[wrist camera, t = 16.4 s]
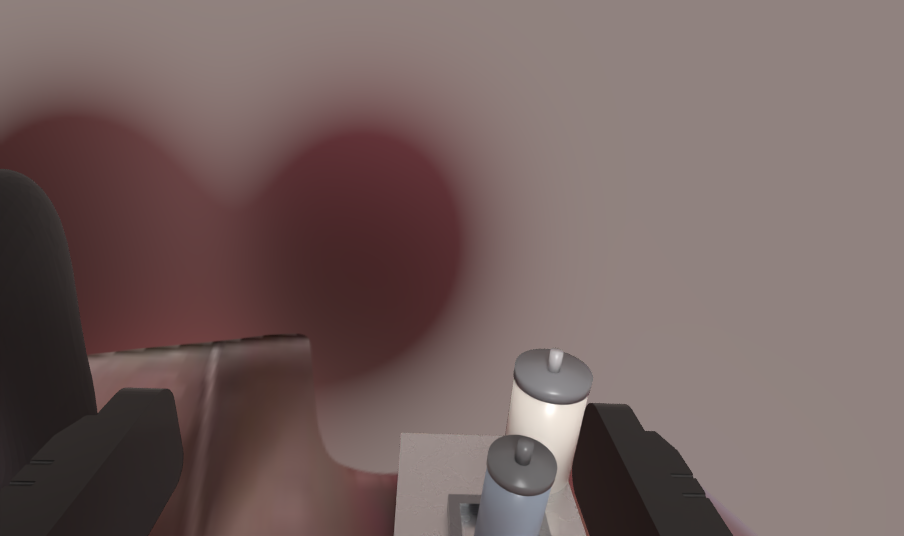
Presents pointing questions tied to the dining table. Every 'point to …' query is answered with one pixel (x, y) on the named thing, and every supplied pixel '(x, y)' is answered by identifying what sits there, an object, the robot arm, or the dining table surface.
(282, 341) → the dining table surface
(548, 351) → the white lidded canister
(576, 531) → the mounting plate
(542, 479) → the grey lidded canister
